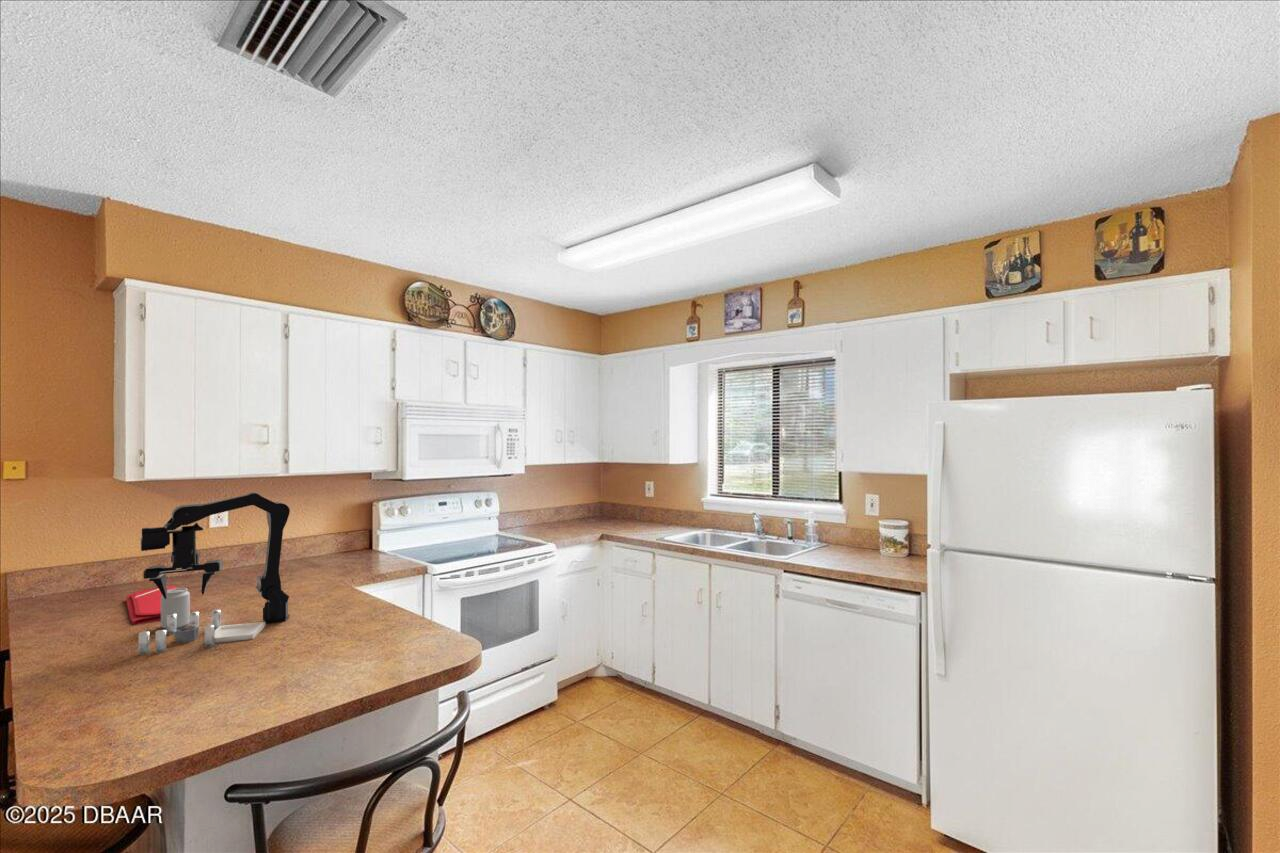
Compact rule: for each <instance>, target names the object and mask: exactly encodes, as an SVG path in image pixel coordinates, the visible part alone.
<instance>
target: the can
mask: <svg viewBox="0 0 1280 853" xmlns="http://www.w3.org/2000/svg"><path fill="white" fill-rule="evenodd" d="M190 611H191V593H190V592H189V590H188V588H186V587H177V588H176V589H170V590H167V599H164V597H163V595H162V596H161V620H160V627H161V628H162V629H165V630H167V615H168V614H173V613H176V614H177V629H179V628H183V627H187V626H188V624H190Z"/></svg>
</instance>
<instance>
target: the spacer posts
mask: <svg viewBox="0 0 1280 853" xmlns="http://www.w3.org/2000/svg"><path fill="white" fill-rule="evenodd" d="M189 626H198V632H199V631H200V611H196V610H195V611H192V612H191V613H190V622H189ZM219 626H222V609H213V610H211V624H208V625H206V626H204V639H205V644H204V648H205V649H209V648H213V647H215V646H216V643H215V630H216V629H217V628H218V627H219ZM177 629H178V628H177V614H176V613H173V614H168V615H167V629H164V628H162V629H159V630H156V631H155V654H162V653H165V652H167V635H168V636H170V635H175V631H176V630H177ZM150 634H151V633H150V630H145V631H141V632H138V656H144V655H147V654H150V652H151V651H150V650H151V648H150V647H151V646H150V645H151V643H150V641H151V640H150Z"/></svg>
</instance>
